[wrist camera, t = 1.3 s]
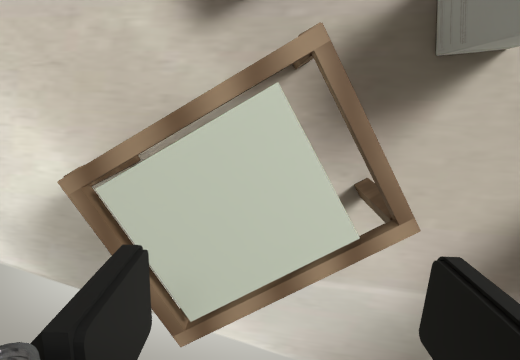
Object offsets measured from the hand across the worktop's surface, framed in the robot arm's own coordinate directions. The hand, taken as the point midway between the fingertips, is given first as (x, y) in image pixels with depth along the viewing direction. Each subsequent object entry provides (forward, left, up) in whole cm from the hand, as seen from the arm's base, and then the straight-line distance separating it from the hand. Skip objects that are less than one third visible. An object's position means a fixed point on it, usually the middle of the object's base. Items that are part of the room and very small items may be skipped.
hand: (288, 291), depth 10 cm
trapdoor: (+4, 0, -18) cm, 19 cm away
